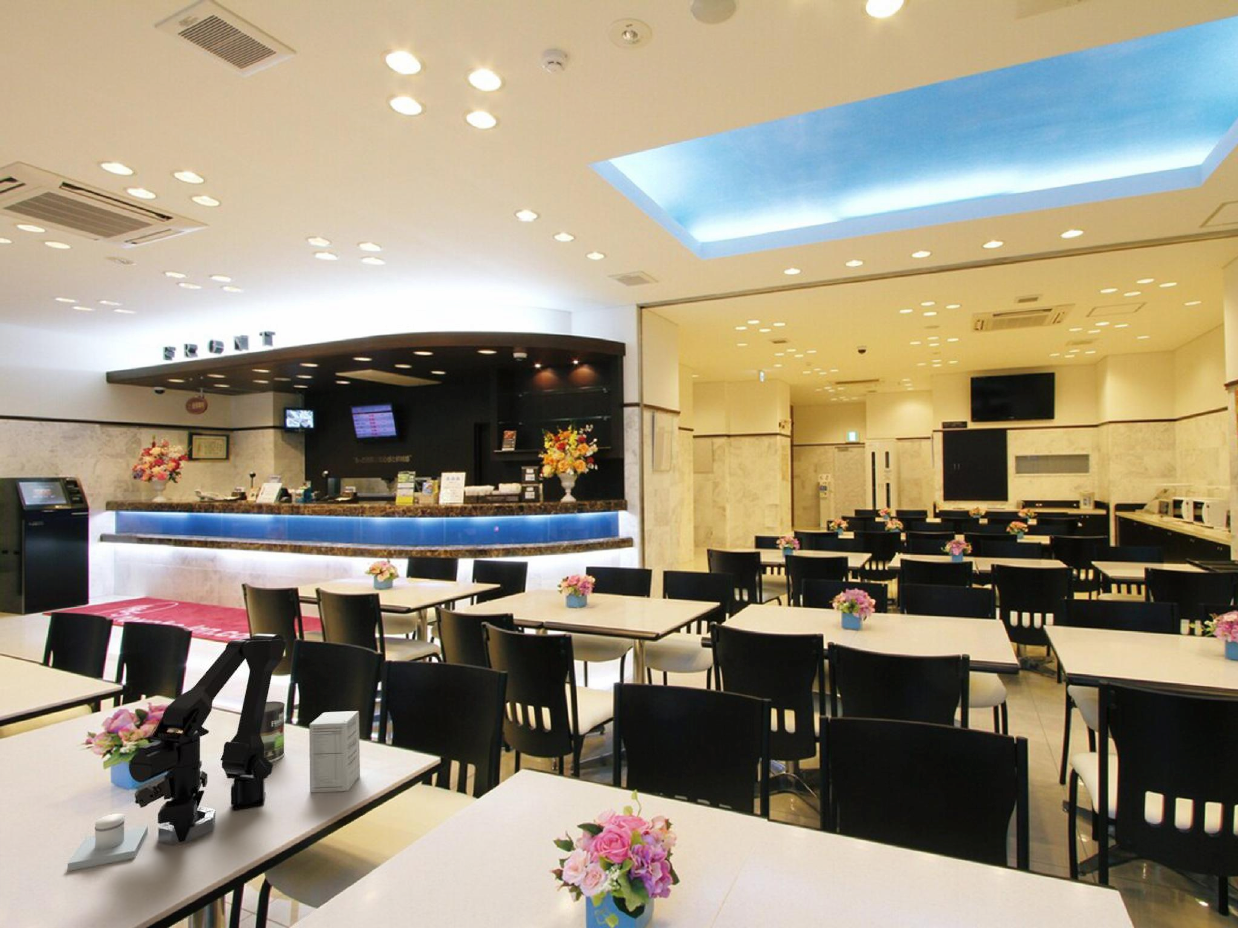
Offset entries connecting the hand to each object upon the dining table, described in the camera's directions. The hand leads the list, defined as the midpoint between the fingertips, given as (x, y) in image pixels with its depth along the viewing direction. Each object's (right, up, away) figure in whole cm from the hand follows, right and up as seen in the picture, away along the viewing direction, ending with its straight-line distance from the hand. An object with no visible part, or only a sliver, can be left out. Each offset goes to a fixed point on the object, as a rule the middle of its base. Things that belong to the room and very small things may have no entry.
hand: (184, 836), depth 144 cm
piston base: (-13, -1, -4) cm, 14 cm away
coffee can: (-6, -3, +44) cm, 45 cm away
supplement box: (+21, -2, +27) cm, 34 cm away
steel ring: (-2, -1, +4) cm, 4 cm away
